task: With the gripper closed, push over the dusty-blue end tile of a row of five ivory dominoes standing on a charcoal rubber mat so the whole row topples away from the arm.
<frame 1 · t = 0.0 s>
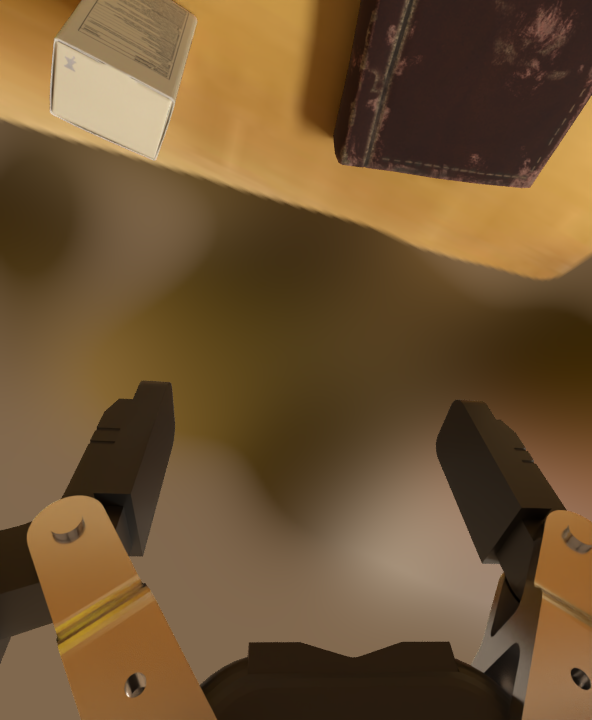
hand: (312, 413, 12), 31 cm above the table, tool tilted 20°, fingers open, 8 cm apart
skincare box: (150, 23, 30), on the table
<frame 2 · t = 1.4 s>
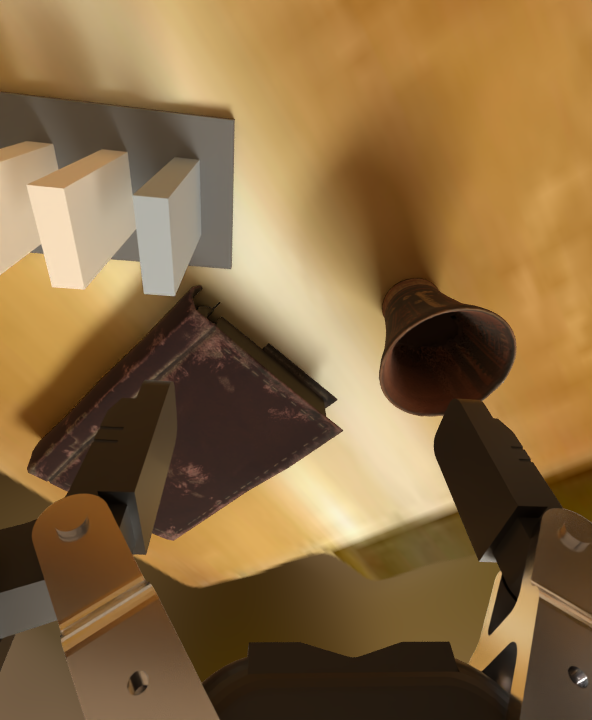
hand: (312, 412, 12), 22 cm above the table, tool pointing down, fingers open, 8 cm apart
domino 3: (49, 184, 28), point 1 cm above the table, touching mat
domino 1: (188, 197, 28), point 1 cm above the table, touching mat
cup: (408, 301, 35), on the table
diary: (190, 416, 42), on the table
domino 2: (120, 191, 28), point 1 cm above the table, touching mat
mat: (48, 181, 28), on the table
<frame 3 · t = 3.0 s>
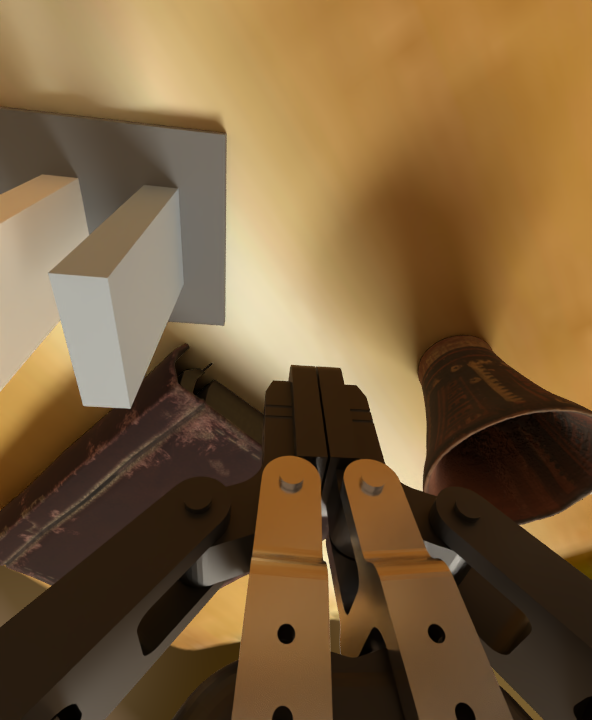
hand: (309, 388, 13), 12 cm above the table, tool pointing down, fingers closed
domino 1: (165, 237, 21), point 1 cm above the table, touching mat
cup: (451, 361, 27), on the table
diary: (177, 484, 35), on the table
domino 2: (71, 229, 21), point 1 cm above the table, touching mat
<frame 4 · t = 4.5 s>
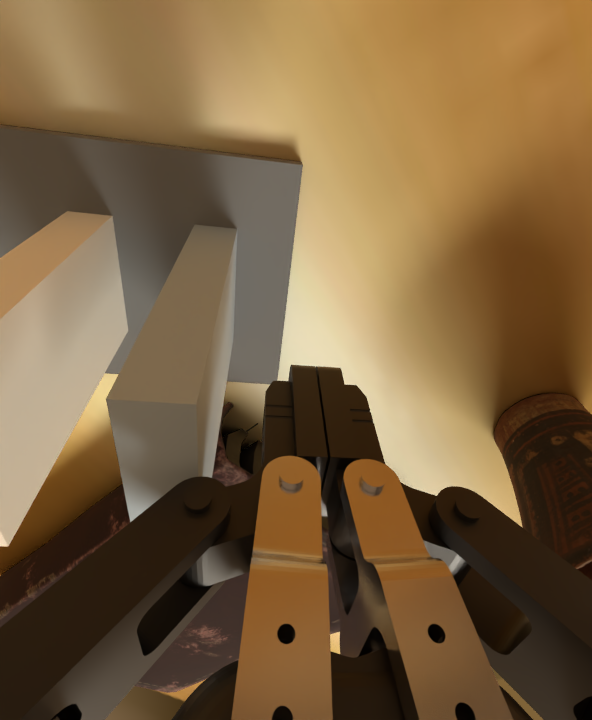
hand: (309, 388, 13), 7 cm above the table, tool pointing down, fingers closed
domino 1: (215, 286, 17), point 1 cm above the table, touching mat
cup: (533, 419, 24), on the table
diary: (203, 546, 31), on the table
domino 2: (100, 276, 17), point 1 cm above the table, touching mat
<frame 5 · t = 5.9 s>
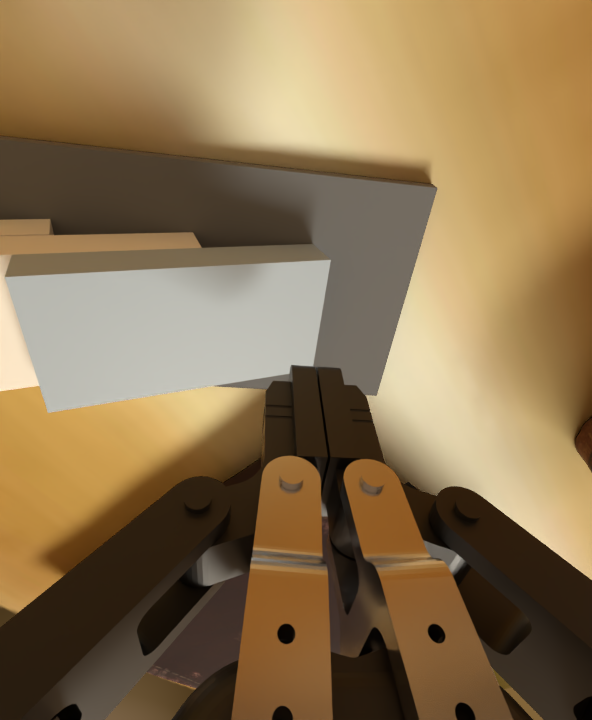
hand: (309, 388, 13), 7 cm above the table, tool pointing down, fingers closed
domino 3: (64, 290, 16), point 1 cm above the table, tilted 68°, touching domino 2, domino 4, mat
domino 1: (312, 310, 17), point 1 cm above the table, tilted 70°, touching domino 2
diary: (272, 551, 31), on the table
domino 2: (198, 300, 16), point 1 cm above the table, tilted 70°, touching domino 1, domino 3, mat
mat: (109, 278, 17), on the table
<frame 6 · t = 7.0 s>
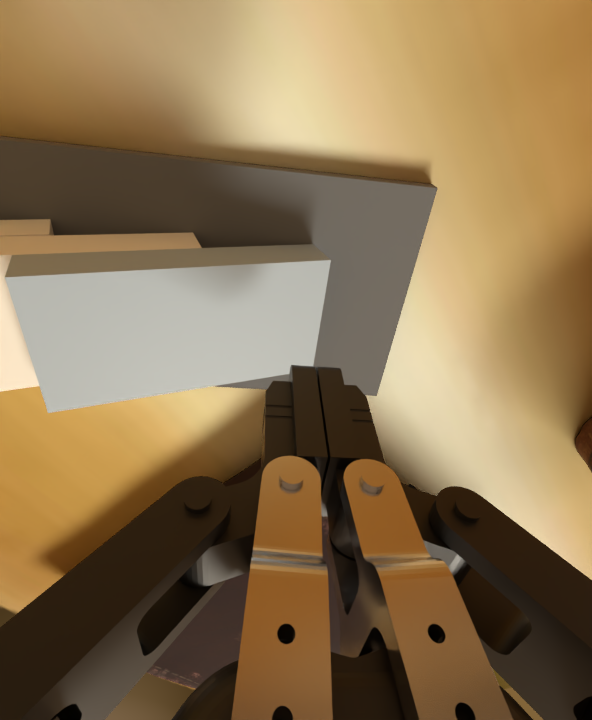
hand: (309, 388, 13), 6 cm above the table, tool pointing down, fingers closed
domino 3: (64, 290, 16), point 1 cm above the table, tilted 68°, touching domino 2, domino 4, mat
domino 1: (312, 310, 17), point 1 cm above the table, tilted 70°, touching domino 2
diary: (272, 551, 31), on the table
domino 2: (198, 301, 16), point 1 cm above the table, tilted 70°, touching domino 1, domino 3, mat
mat: (109, 278, 17), on the table
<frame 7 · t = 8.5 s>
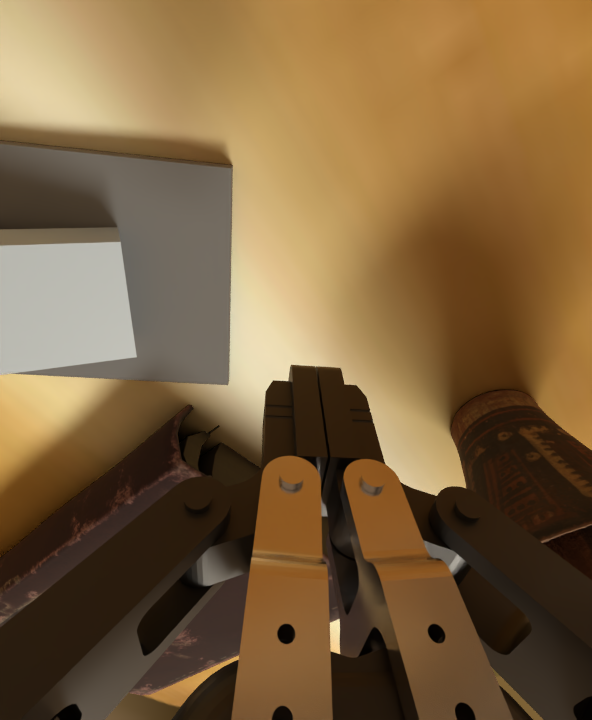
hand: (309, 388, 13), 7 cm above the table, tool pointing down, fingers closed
domino 1: (127, 295, 17), point 1 cm above the table, tilted 70°, touching domino 2
cup: (489, 416, 24), on the table
diary: (174, 548, 31), on the table
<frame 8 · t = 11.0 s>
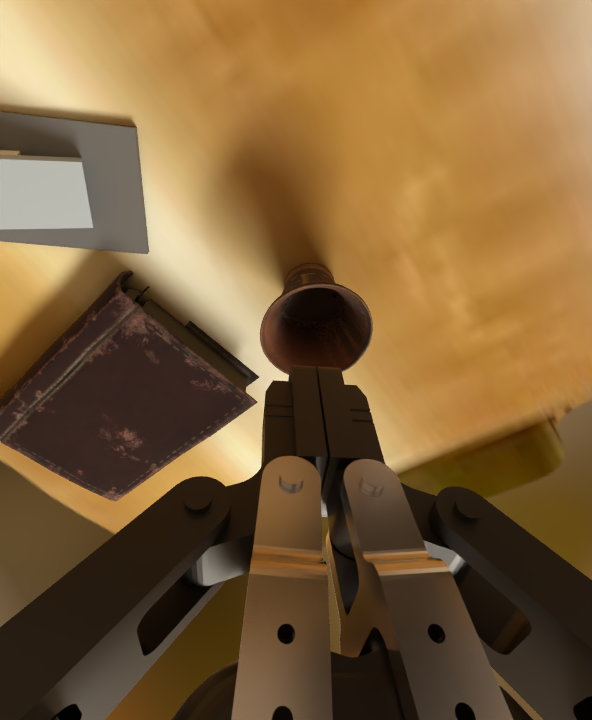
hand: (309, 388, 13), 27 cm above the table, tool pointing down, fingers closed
domino 1: (87, 193, 33), point 1 cm above the table, tilted 70°, touching domino 2
cup: (308, 284, 40), on the table
diary: (130, 388, 47), on the table
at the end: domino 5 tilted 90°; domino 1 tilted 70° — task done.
